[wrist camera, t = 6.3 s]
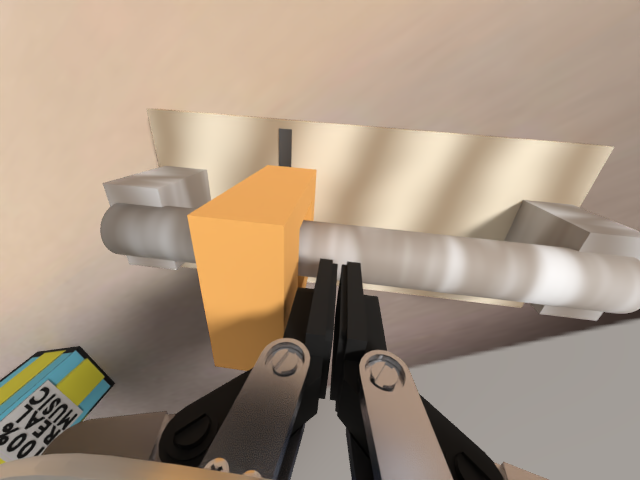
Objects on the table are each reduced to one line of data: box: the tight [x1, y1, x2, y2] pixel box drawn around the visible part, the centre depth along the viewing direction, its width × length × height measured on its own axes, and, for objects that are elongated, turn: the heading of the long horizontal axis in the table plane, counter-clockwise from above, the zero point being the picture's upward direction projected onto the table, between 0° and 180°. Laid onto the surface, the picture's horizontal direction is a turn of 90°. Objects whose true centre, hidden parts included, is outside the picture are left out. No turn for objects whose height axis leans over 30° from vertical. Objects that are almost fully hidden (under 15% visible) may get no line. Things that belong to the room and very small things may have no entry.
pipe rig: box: [100, 109, 640, 321], centre depth 15 cm, size 28×12×8 cm, turn 86°
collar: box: [187, 165, 317, 371], centre depth 13 cm, size 3×7×8 cm, turn 176°
